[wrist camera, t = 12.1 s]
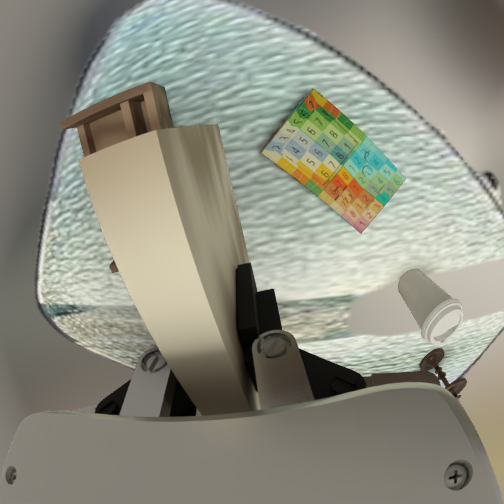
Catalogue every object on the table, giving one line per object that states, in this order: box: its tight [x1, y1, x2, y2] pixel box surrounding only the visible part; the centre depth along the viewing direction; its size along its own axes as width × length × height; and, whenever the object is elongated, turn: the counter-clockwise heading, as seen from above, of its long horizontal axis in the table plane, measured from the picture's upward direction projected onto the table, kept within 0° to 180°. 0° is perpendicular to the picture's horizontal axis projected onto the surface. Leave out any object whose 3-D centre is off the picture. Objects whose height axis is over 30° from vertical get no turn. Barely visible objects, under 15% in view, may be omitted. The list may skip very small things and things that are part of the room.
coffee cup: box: [398, 269, 464, 344], centre depth 44 cm, size 10×10×15 cm
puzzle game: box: [261, 88, 406, 233], centre depth 38 cm, size 12×5×20 cm
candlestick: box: [419, 348, 467, 410], centre depth 50 cm, size 11×11×35 cm
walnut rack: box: [61, 82, 174, 273], centre depth 36 cm, size 24×14×7 cm, turn 11°
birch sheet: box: [79, 124, 261, 416], centre depth 13 cm, size 14×2×14 cm, turn 11°
